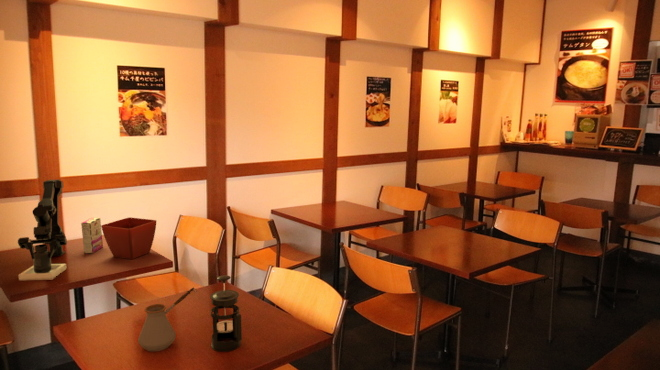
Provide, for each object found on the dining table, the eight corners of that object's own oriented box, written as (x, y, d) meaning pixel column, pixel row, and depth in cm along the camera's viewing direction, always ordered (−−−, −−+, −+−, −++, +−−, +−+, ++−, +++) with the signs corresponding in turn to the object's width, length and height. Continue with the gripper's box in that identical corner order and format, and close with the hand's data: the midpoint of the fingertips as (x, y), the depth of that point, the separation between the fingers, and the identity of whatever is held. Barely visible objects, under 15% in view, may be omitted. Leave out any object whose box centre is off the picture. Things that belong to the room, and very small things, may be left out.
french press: (203, 345, 157) (200, 277, 153) (225, 334, 164) (223, 269, 160) (229, 356, 150) (226, 285, 146) (250, 344, 157) (249, 276, 154)
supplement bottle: (54, 271, 221) (52, 245, 219) (38, 275, 216) (36, 249, 214) (47, 267, 225) (45, 242, 223) (31, 271, 220) (29, 245, 218)
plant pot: (102, 257, 245) (99, 225, 242) (131, 247, 262) (129, 216, 259) (131, 262, 237) (129, 229, 235) (159, 251, 255) (157, 220, 252)
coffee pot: (152, 358, 149) (149, 312, 146) (131, 347, 155) (128, 302, 153) (208, 332, 166) (206, 290, 163) (186, 323, 172) (184, 283, 170)
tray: (35, 269, 227) (34, 264, 226) (66, 268, 228) (66, 263, 228) (19, 280, 213) (18, 274, 213) (52, 279, 214) (51, 274, 214)
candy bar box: (94, 247, 262) (91, 217, 259) (103, 247, 262) (100, 217, 259) (83, 253, 251) (80, 222, 248) (92, 253, 251) (90, 222, 248)
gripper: (16, 220, 217) (12, 251, 209) (63, 217, 223) (61, 247, 215) (22, 233, 226) (19, 263, 217) (67, 229, 232) (66, 259, 224)
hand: (41, 258), depth 218 cm, fingers closed on supplement bottle, 6 cm apart
